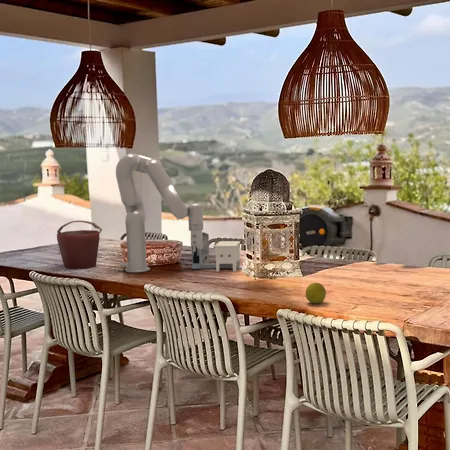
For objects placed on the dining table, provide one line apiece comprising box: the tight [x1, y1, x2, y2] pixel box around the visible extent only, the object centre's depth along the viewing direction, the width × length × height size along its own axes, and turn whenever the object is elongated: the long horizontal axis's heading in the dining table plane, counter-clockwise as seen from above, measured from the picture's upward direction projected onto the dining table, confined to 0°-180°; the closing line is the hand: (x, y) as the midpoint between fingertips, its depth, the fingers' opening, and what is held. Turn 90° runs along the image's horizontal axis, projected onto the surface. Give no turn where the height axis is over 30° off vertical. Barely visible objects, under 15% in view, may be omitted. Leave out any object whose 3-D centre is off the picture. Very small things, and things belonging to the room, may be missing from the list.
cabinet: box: [214, 240, 241, 272], centre depth 331 cm, size 11×18×13 cm, turn 171°
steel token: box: [236, 264, 244, 271], centre depth 331 cm, size 6×6×2 cm
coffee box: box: [201, 231, 210, 264], centre depth 353 cm, size 9×6×16 cm
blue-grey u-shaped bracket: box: [191, 247, 233, 270], centre depth 333 cm, size 22×4×11 cm, turn 82°
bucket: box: [56, 220, 103, 270], centre depth 348 cm, size 24×22×25 cm
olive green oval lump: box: [305, 282, 327, 305], centre depth 251 cm, size 11×8×8 cm
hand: (197, 262), depth 335 cm, fingers closed on blue-grey u-shaped bracket, 4 cm apart
